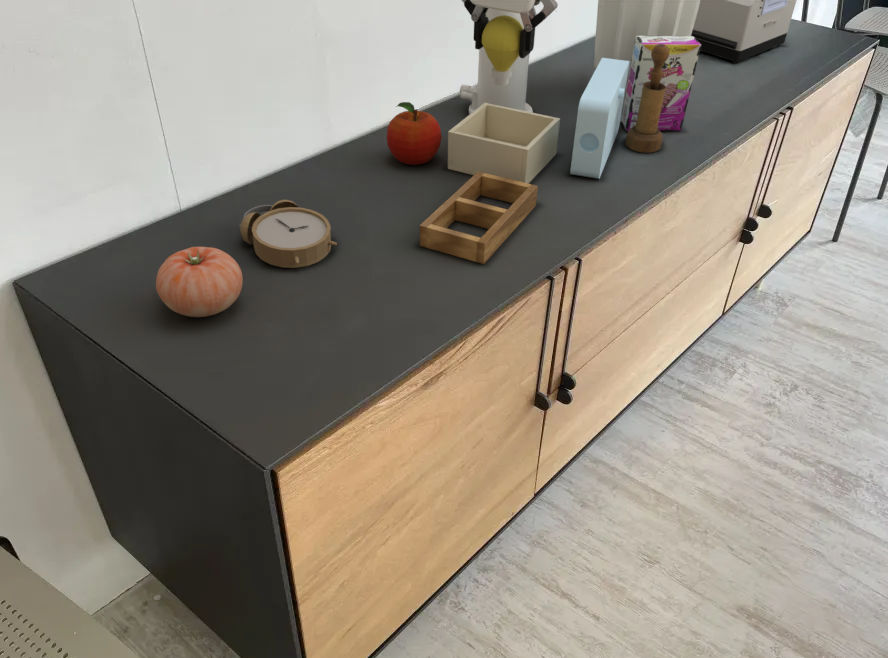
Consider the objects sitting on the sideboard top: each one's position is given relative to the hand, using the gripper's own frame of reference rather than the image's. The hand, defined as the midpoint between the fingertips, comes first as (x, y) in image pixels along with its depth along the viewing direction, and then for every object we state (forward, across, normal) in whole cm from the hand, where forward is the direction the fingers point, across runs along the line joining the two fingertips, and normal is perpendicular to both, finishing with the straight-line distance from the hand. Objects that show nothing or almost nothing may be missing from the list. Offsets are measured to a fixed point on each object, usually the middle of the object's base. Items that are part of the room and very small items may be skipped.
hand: (502, 50), depth 120 cm
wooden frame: (+21, +5, -17) cm, 27 cm away
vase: (+22, +10, +47) cm, 53 cm away
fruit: (+21, -15, -2) cm, 26 cm away
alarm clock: (+21, -18, -36) cm, 45 cm away
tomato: (+20, -18, -54) cm, 60 cm away
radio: (+22, +12, +17) cm, 30 cm away
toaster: (+23, +18, +91) cm, 96 cm away
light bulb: (+5, 0, 0) cm, 5 cm away
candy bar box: (+22, +18, +33) cm, 44 cm away
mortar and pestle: (+22, +19, +24) cm, 38 cm away
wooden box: (+21, -1, +5) cm, 22 cm away
